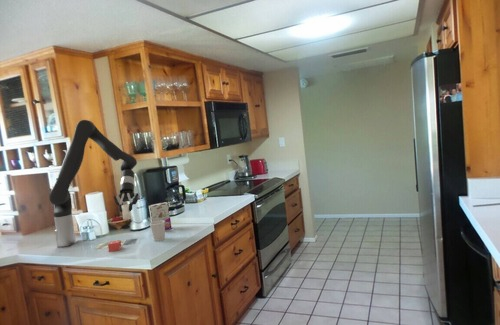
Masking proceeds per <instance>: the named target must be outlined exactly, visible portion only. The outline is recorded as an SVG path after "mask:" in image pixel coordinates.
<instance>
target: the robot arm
mask: <svg viewBox="0 0 500 325" xmlns="http://www.w3.org/2000/svg"><path fill="white" fill-rule="evenodd" d="M73 133H74V134H73V137H72V141H71V142H70V145H69V147H68V150H67V151H66V153H65V155H64V156H65V157H63V158H64V159H63V161H62V163H61V164H62V165H61V167H60V170H59V173H58V176H57V179H56V181H55V183H54V186H53V188H52V190H51V191H50V193H49V195H48V196H49V198H48V199H49V202H50V203H51V204H52V205H54V209H53V217H54V225H55V230H54V235H55V242H56V247H57V248H58V247H67V246H72V245H74V244H75V243H76V242H77V238H76V230H75V225H74V219H73V213H72V212H73V205H72V204H73V202H72V196H71V192H70V190H69V189H70V187H71V184H72V182H73V180H74V179H75V177H76V175H77V174H78V172H79V170H80V169H81V166H82V163H83V160H84V156H85V148H86V144H87V142H88V140H89V139H90V140H92V141H93V142H94V143H96V144H97V145H98V146H99V147H100V148H101V149H102V151H104V153H105V154H107V155H108V156H109V157H110V158H111V159H112V160H114V161H116V162H117V161H119V160H121V161H122V162H121V164H120V165H119V169H120V173H121V176H120V178H121V179H120V186H119V193H118V195H114V196H113V199H114V202H115V205H116V207H119V208H118V211H119V212H120V213H122V205H125V203H126V202H129V203H128V204H129V211H130V212H132V211H133V205H136V204H137V202H138V201H139V198H140V194H139V192H137V193H135V172H134V170H133V169H134V168H135V167H136V166H137V164H138V160H137V158H135V157H134V156H133V155H131V154H129V153H127V152H125V151H123V150H122V149H121V148H120V147H118V146H117V145H116V144H114V142H113V141H111V140H110V139H108V138H107V137H106V136H105V135H104V134H103V133H102V131H100V130H99V128H98V127H96V125H95V124H94V123H93V122H92V121H91V120H87V119H82V120H79V121H78V122H77V124H76V126H75V130H74V132H73ZM119 199H120V200H119Z"/></svg>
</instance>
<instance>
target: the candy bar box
mask: <svg viewBox="0 0 500 325" xmlns="http://www.w3.org/2000/svg"><path fill="white" fill-rule="evenodd" d="M148 209H149V210H148V211H149V216H150V223H151V222H153V221H158V220H164V221H165V231H167V230H172V223H171V216H170V208H169V203H168V202H167V201H166V202H159V203H154V204H150V205H148Z"/></svg>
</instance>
